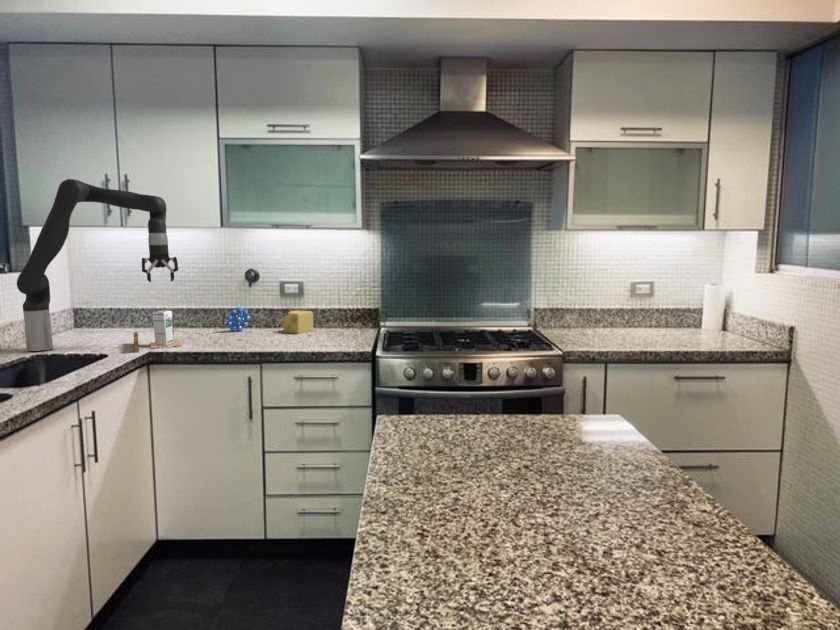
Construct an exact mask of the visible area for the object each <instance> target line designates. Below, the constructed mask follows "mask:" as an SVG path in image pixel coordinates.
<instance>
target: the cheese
mask: <svg viewBox="0 0 840 630" xmlns="http://www.w3.org/2000/svg"><path fill="white" fill-rule="evenodd" d="M283 323H284V324H283V333H287V334H288V333H289V334H295V335H296V334H297V335H301V334H304V333H309V332H313V331H314V313H313V311H308V310H301V309H300V310H299V309H298V310H292V311H291V310H290V311H289V312H287V314H286V316H284V317H283Z"/></svg>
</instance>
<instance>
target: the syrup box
mask: <svg viewBox="0 0 840 630" xmlns="http://www.w3.org/2000/svg"><path fill="white" fill-rule="evenodd" d="M152 323H153V331H154V342H155V344H156V345H168V344H172V343H174V342H175V341H176V340H175V334H174V333H175V331H174V321H173V311H172V310H168V309H167V310H166V309H165V310H163V309H162V310H159V311H155V312H152Z"/></svg>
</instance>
